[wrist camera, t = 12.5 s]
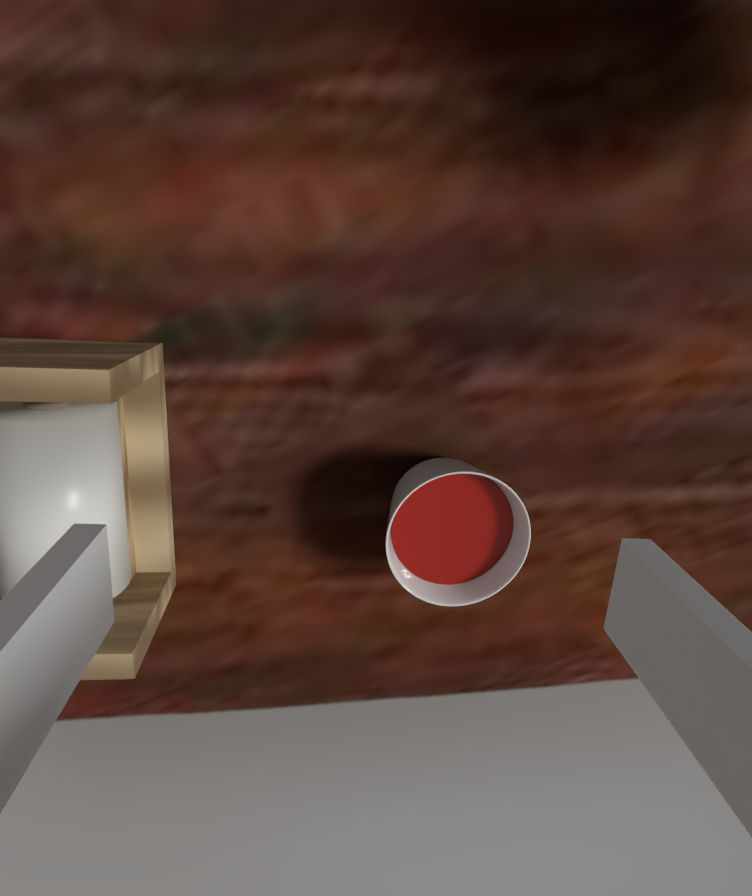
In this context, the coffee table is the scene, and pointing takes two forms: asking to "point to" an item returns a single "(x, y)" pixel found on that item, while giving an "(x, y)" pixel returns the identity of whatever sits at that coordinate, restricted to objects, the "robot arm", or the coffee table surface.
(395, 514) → the candle
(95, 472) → the paper roll
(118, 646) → the oak roll cradle
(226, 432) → the coffee table surface
